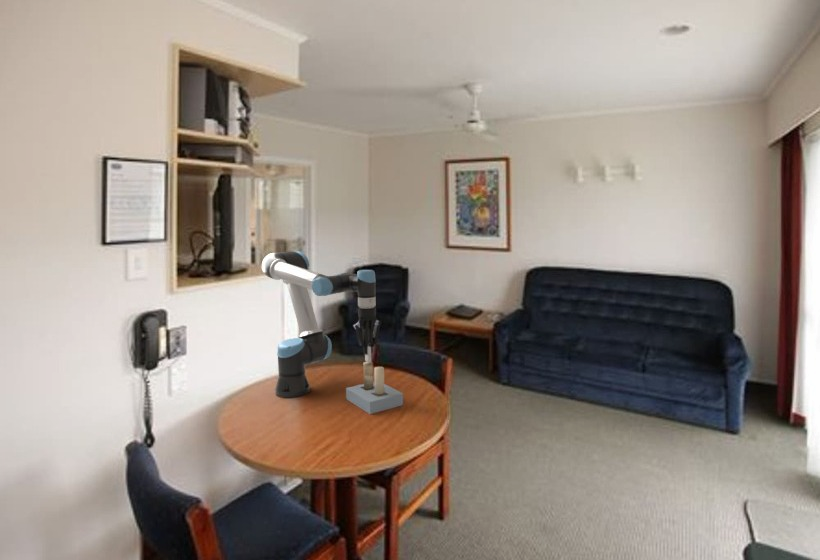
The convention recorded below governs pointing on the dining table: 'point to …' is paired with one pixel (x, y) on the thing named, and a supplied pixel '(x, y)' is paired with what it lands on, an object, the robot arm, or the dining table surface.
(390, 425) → the dining table surface
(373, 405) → the seat board
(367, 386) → the beech leg
